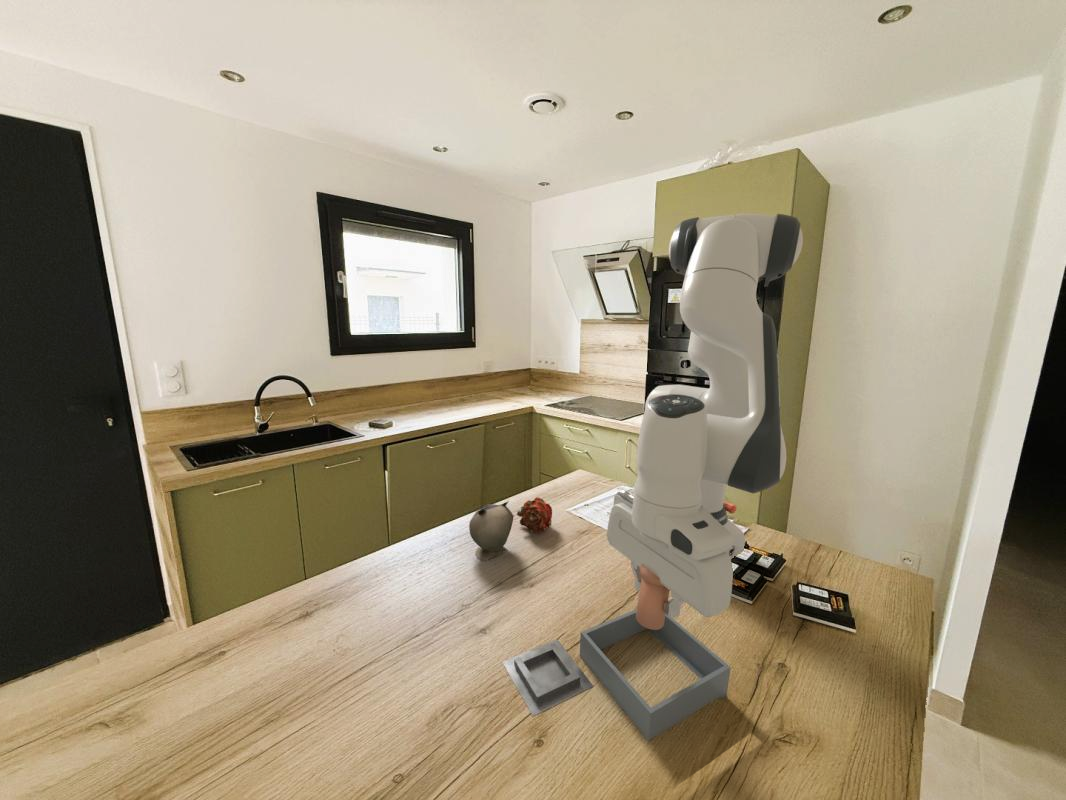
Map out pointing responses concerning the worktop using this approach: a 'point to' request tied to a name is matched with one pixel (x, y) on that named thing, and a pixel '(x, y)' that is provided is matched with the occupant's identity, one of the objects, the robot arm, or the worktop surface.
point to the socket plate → (546, 676)
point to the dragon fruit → (535, 515)
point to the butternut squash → (651, 600)
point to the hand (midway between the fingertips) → (656, 602)
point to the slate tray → (682, 646)
